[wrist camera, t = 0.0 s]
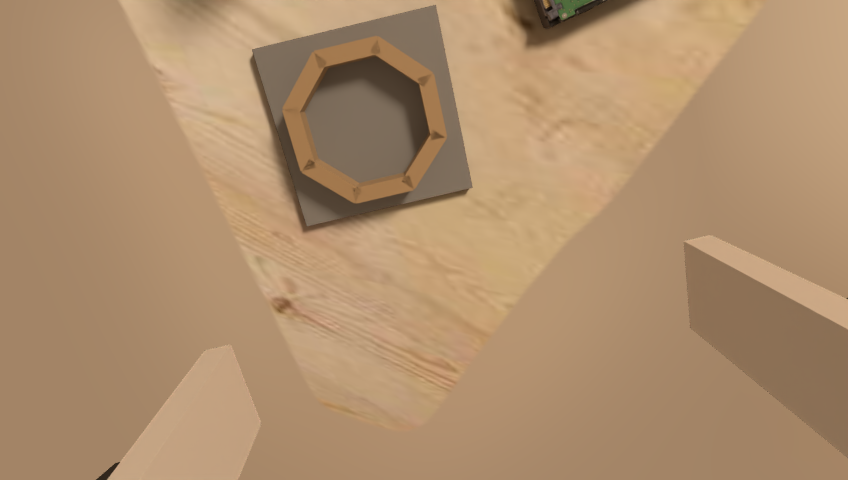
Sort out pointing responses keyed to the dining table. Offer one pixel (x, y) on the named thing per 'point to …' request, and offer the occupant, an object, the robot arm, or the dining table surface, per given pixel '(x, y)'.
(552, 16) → the disk drive
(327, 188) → the end holder
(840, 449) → the robot arm
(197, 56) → the dining table surface
